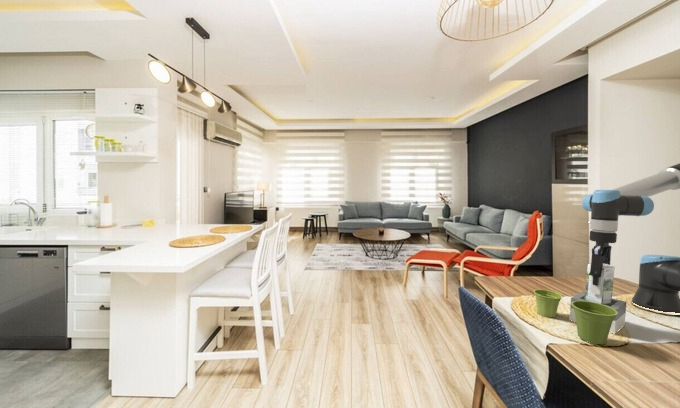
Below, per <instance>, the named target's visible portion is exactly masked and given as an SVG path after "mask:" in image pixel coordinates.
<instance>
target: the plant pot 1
mask: <svg viewBox="0 0 680 408" xmlns="http://www.w3.org/2000/svg"><path fill="white" fill-rule="evenodd" d="M533 293H534V296H535V301H536V312H538V313H537V314H539V315H540V316H542V315H543V316H542V317H545V316H546V317H545V318H556V317H555V316H557V311H558V309H559V308H558V307H559V304H560V302H561V299H563V295H561V294H560V293H558V292H555V291H552V290H549V289H548V290H547V289H534V290H533Z"/></svg>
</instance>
